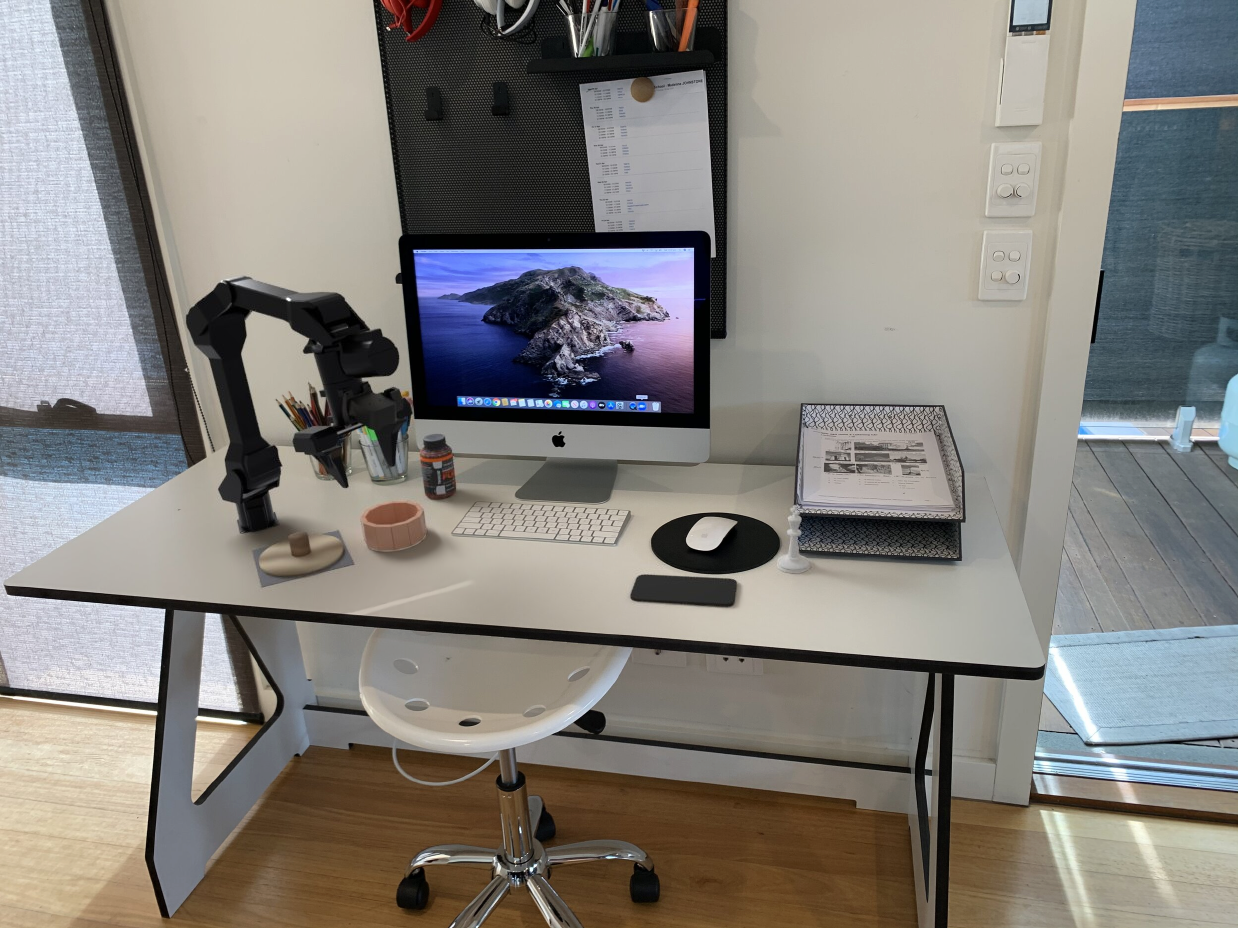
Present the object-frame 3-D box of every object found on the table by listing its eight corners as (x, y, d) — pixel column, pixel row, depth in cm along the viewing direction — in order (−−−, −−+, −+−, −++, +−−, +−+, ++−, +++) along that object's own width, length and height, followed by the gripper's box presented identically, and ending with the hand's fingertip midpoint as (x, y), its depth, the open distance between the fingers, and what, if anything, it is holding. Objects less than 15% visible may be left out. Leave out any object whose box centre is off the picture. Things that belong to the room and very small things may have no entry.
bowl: (360, 535, 152) (355, 509, 151) (417, 522, 156) (414, 496, 154) (372, 559, 144) (368, 532, 142) (433, 544, 148) (429, 517, 146)
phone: (637, 573, 135) (737, 578, 132) (638, 578, 136) (737, 583, 133) (628, 598, 129) (733, 604, 126) (628, 603, 129) (733, 609, 126)
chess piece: (790, 576, 133) (792, 515, 129) (770, 563, 137) (771, 503, 133) (816, 568, 135) (819, 507, 131) (796, 555, 139) (798, 496, 135)
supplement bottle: (450, 500, 164) (442, 443, 160) (419, 499, 165) (411, 442, 161) (461, 487, 170) (455, 431, 165) (432, 486, 171) (424, 431, 167)
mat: (252, 553, 148) (252, 550, 148) (339, 533, 154) (338, 530, 154) (262, 590, 136) (261, 586, 136) (355, 567, 142) (354, 563, 142)
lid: (255, 550, 148) (251, 529, 146) (335, 532, 153) (332, 512, 151) (264, 584, 137) (259, 562, 135) (350, 563, 142) (346, 542, 141)
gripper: (323, 396, 122) (354, 502, 127) (423, 361, 136) (448, 457, 141) (276, 398, 129) (307, 498, 133) (376, 363, 143) (401, 455, 147)
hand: (369, 476), depth 138 cm, fingers open, 9 cm apart
